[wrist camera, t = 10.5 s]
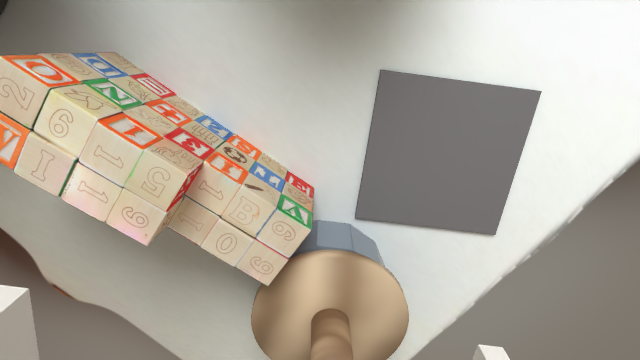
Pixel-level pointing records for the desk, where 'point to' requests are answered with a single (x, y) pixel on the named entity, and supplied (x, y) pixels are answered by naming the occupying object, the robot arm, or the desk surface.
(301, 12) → the desk surface
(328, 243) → the bowl
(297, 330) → the lid
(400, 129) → the mat
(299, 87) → the desk surface
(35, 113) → the stack of blocks
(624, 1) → the desk surface
